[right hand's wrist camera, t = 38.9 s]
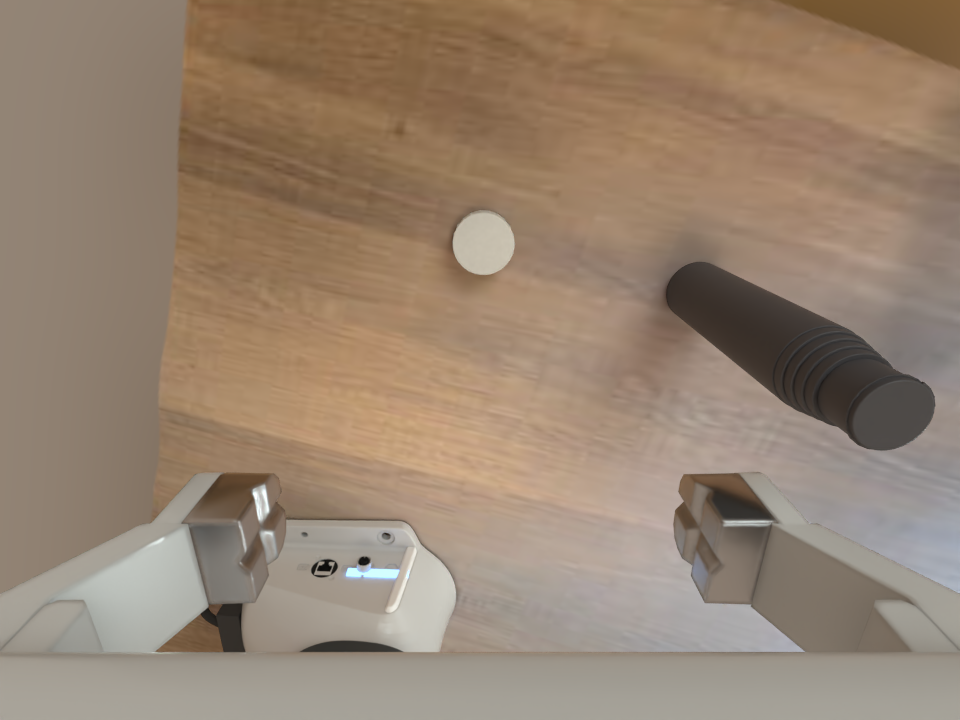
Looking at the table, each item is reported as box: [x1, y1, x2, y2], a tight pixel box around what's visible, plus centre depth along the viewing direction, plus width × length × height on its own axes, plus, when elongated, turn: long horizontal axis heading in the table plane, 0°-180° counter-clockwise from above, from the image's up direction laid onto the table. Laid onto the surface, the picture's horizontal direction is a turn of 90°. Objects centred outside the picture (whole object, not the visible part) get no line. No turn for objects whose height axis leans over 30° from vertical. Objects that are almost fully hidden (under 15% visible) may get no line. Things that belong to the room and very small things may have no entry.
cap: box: [452, 210, 515, 275], centre depth 40 cm, size 5×5×2 cm
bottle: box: [667, 262, 935, 450], centre depth 32 cm, size 5×5×22 cm
